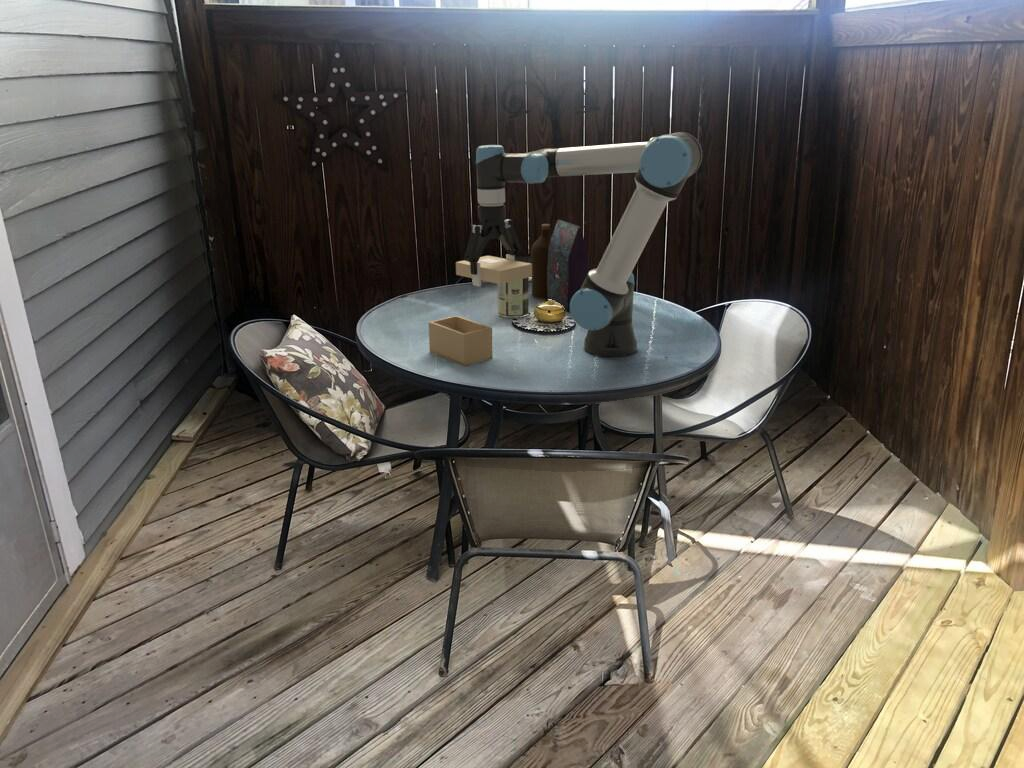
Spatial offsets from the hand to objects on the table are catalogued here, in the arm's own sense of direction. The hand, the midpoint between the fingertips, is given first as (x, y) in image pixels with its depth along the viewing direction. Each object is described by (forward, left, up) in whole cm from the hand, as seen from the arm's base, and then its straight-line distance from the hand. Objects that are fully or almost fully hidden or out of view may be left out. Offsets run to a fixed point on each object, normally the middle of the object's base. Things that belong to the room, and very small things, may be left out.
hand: (494, 281), depth 236 cm
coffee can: (+23, -28, -20) cm, 41 cm away
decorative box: (+19, -49, -20) cm, 56 cm away
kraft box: (+1, +11, -20) cm, 23 cm away
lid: (0, 0, +2) cm, 2 cm away
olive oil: (+34, -53, -20) cm, 66 cm away
